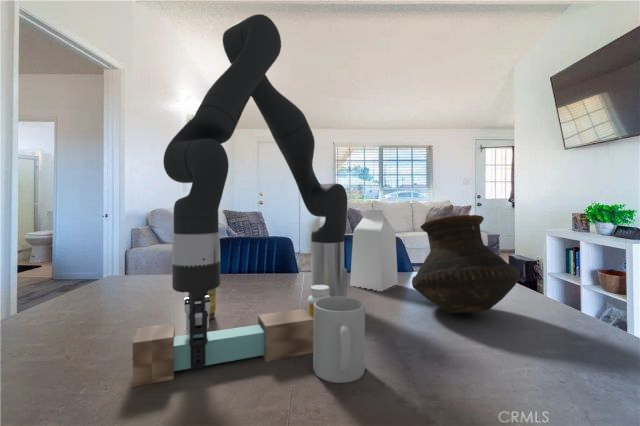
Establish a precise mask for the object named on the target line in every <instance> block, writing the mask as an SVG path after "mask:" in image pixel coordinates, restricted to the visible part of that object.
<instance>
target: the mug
mask: <svg viewBox="0 0 640 426" xmlns="http://www.w3.org/2000/svg"><path fill="white" fill-rule="evenodd" d="M365 332H366V306H365V303H364V301H361V300H359V299H358V298H353V297H350V296H349V297H348V296H347V297H326V298H322V299H319V300H317V301H316V302H315V303H314V353H312V354H313V355H312V356H313V359H312V362H313V363H312V364H313V365H312V370H313V373H315V375H316V377H318V378H319V379H321V380H323V381H325V382H328V383H334V384H335V383H336V384H349V383H353V382H355V381H358V380H359V379H360V378H362V377H363V375H364V373H365V370H366V354H365V353H366V350H365V349H366V333H365Z"/></svg>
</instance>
